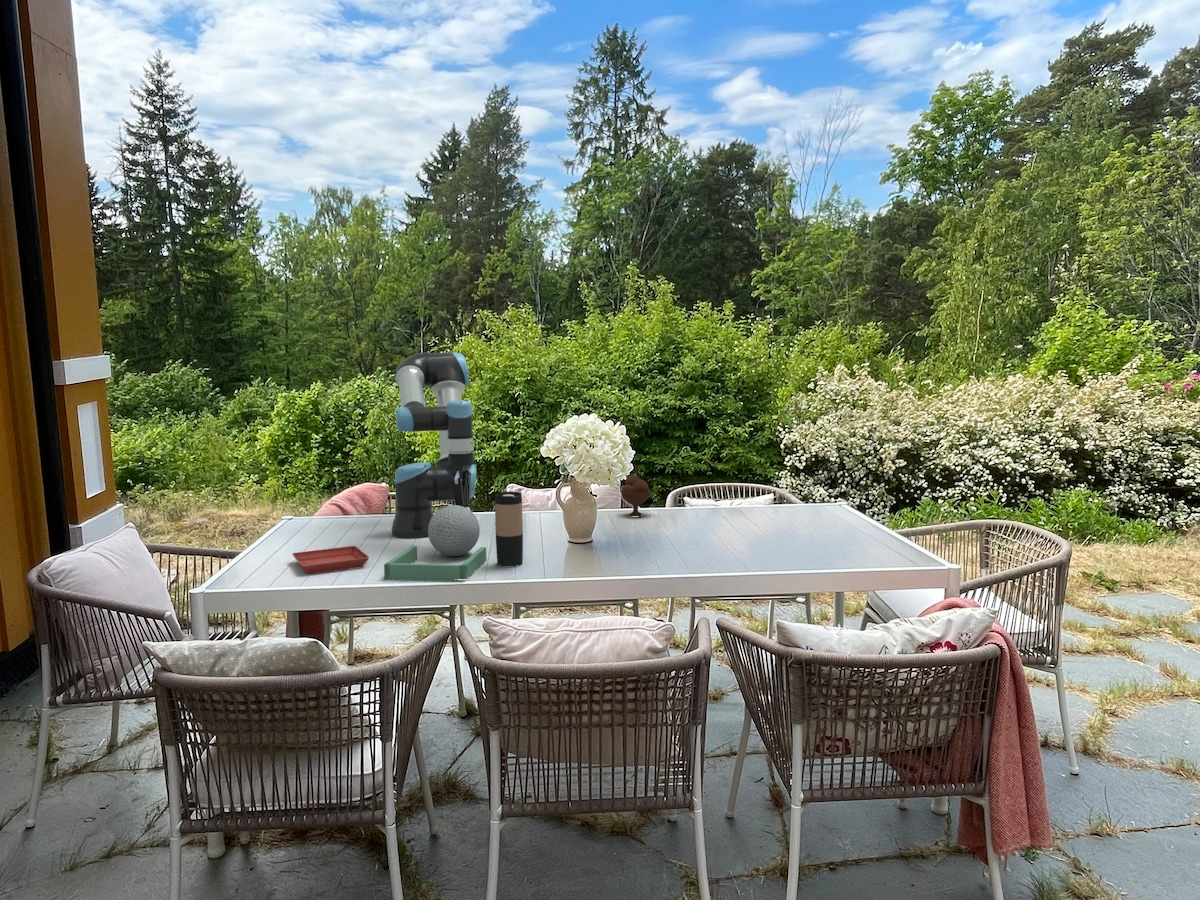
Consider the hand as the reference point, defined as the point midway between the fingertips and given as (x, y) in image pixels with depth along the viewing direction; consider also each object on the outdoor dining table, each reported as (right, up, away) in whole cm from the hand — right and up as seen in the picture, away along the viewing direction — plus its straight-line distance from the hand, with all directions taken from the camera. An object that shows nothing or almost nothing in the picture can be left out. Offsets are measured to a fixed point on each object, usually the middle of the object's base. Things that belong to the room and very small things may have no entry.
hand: (463, 528), depth 249 cm
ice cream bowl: (+55, 0, +49) cm, 73 cm away
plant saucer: (-35, -9, -18) cm, 40 cm away
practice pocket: (-3, -9, -23) cm, 25 cm away
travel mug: (+16, -8, -19) cm, 26 cm away
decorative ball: (-1, -7, -8) cm, 11 cm away
